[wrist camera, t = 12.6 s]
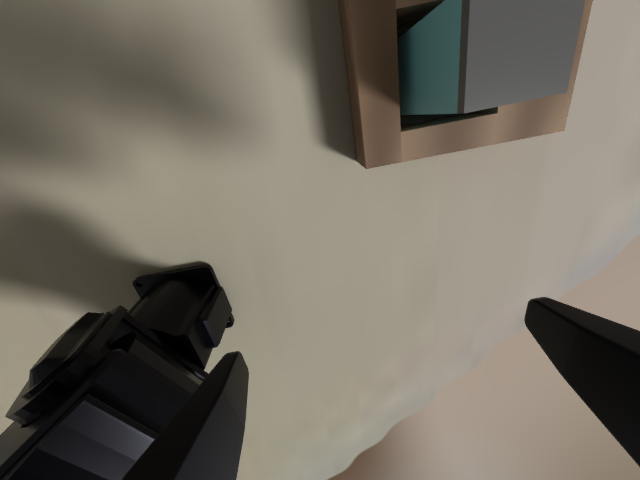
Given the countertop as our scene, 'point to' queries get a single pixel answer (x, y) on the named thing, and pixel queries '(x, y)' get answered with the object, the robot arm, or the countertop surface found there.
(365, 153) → the socket plate
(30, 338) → the countertop surface
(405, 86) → the plug
